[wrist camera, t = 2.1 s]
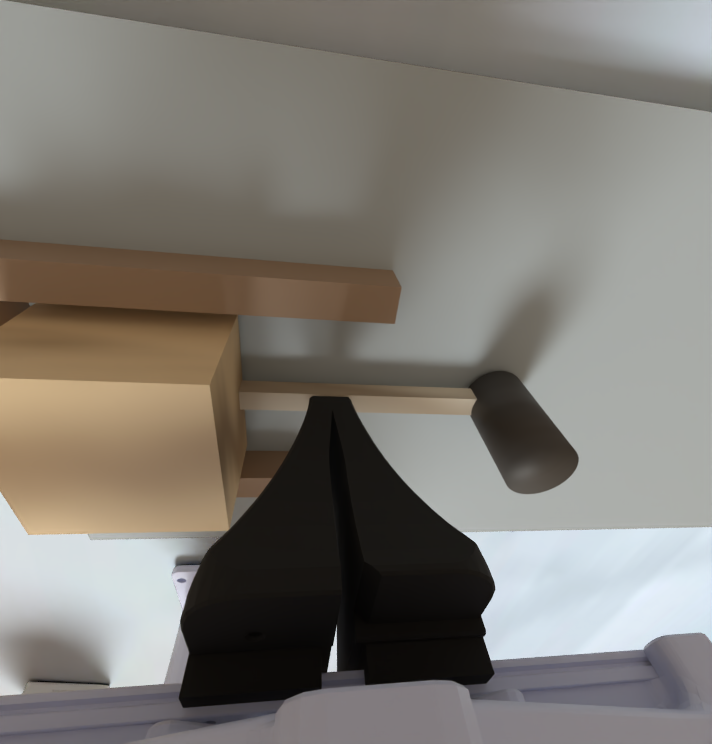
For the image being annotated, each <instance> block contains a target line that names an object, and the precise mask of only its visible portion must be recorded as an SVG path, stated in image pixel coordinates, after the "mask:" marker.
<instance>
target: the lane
mask: <svg viewBox="0 0 712 744" xmlns="http://www.w3.org/2000/svg"><path fill="white" fill-rule="evenodd" d="M35 303H44V304H61V305H78V306H96V307H113V308H130V309H147V310H164V311H181V312H198V313H215V314H232V315H238V324H239V338H240V351H241V365H242V379H243V380H246V381H274V382H302V383H331V384H359V385H387V386H416V387H444V388H469V386H470V385H471V384H472V383H473V382H474V381H475V380H476V379H478V378H479V377H481V376H483V375H485V374H487V373H490V372H494V371H507V372H510V373H513V374H514V375H516V376H517V377H518V378H519V379H520V381H521V382H522V383H523V385H524V386H525V387H526V388H527V390H528V391H529V392H530V393H531V395H532V396H533V397H534V399H535V400H536V401H537V402H538V404H539V405H540V406H541V407H542V409H543V410H544V411H545V413H546V414H547V415H548V416H549V418H550V419H551V420H552V421H553V423H554V424H555V425H556V427H557V428H558V429H559V430H560V432H561V433H562V434H563V435H564V437H565V438H566V439H567V440H568V442H569V443H570V444H571V446H572V447H573V448H574V449H575V451H576V452H577V454H578V457H579V462H578V466H577V468H576V470H575V471H574V473H573V474H572V475H571V476H570V477H569V478H568V479H567V480H566V481H565V482H563V483H562V484H560V485H559V486H557V487H555V488H553V489H550V490H548V491H545V492H541V493H537V494H520V493H516V492H514V491H512V490H510V489H509V488H508V487H507V485H506V483H505V481H504V479H503V478H502V476H501V474H500V472H499V470H498V468H497V466H496V464H495V462H494V460H493V459H492V457H491V455H490V453H489V451H488V449H487V447H486V445H485V443H484V441H483V439H482V438H481V436H480V434H479V432H478V430H477V428H476V426H475V424H474V422H473V420H472V418H471V417H470V415H443V414H402V413H362V412H357V414H358V416H359V418H360V420H361V422H362V424H363V425H364V427H365V429H366V430H367V432H368V434H369V435H370V437H371V438H372V440H373V442H374V443H375V445H376V446H377V448H378V449H379V450H380V452H381V453H382V455H383V456H384V457H385V459H386V460H387V461H388V463H389V464H390V465H391V467H392V468H393V469H394V470H395V471H396V473H397V474H398V475H399V476H400V477H401V478H402V480H403V481H404V482H405V483H406V484H407V485H408V486H409V487H410V488H411V489H412V490H413V491H414V492H415V493H416V494H417V495H418V496H419V497H420V498H421V499H422V500H423V501H424V502H425V503H426V504H427V505H428V506H429V507H430V508H431V509H433V510H434V511H435V512H436V513H437V514H438V515H440V516H441V517H442V518H443V519H444V520H446V521H447V522H448V523H449V524H451V525H452V526H453V527H455V528H456V529H457V530H459V531H460V532H494V531H542V530H590V529H638V528H686V527H712V112H708V111H702V110H696V109H689V108H683V107H677V106H670V105H664V104H658V103H651V102H645V101H639V100H632V99H626V98H620V97H613V96H607V95H601V94H594V93H588V92H582V91H575V90H569V89H563V88H556V87H550V86H544V85H537V84H531V83H525V82H519V81H512V80H506V79H500V78H493V77H487V76H481V75H474V74H468V73H462V72H455V71H449V70H443V69H436V68H430V67H424V66H417V65H411V64H405V63H398V62H392V61H386V60H379V59H373V58H367V57H361V56H354V55H348V54H342V53H335V52H329V51H323V50H316V49H310V48H304V47H297V46H291V45H285V44H278V43H272V42H266V41H259V40H253V39H247V38H240V37H234V36H228V35H221V34H215V33H209V32H202V31H196V30H190V29H184V28H177V27H171V26H165V25H158V24H152V23H146V22H139V21H133V20H127V19H120V18H114V17H108V16H101V15H95V14H89V13H82V12H76V11H70V10H63V9H57V8H51V7H44V6H38V5H32V4H25V3H19V2H13V1H7V0H0V326H2V325H3V324H5V323H6V322H8V321H9V320H11V319H12V318H14V317H15V316H17V315H18V314H20V313H21V312H23V311H24V310H26V309H27V308H29V307H30V306H32V305H33V304H35ZM306 412H307V411H282V410H245V420H246V434H247V448H246V453H245V457H244V462H243V467H242V472H241V477H240V481H239V486H238V491H237V496H236V501H235V505H234V510H233V515H232V520H231V525H230V528H231V527H232V526H233V525H234V524H235V523H236V522H237V521H238V520H239V518H240V517H241V516H242V515H243V514H244V513H245V512H246V511H247V509H248V508H249V507H250V506H251V505H252V504H253V503H254V501H255V500H256V499H257V498H258V496H259V495H260V494H261V493H262V491H263V490H264V489H265V487H266V486H267V485H268V483H269V482H270V480H271V479H272V478H273V476H274V475H275V473H276V472H277V470H278V469H279V467H280V466H281V464H282V462H283V461H284V459H285V457H286V456H287V454H288V452H289V450H290V448H291V447H292V445H293V443H294V441H295V439H296V437H297V435H298V433H299V430H300V428H301V426H302V423H303V421H304V418H305V415H306ZM226 532H227V531H201V532H148V533H94V534H88V536H89V538H90V540H109V539H157V538H205V537H222V536H223V535H224V534H225V533H226Z"/></svg>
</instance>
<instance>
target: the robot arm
mask: <svg viewBox="0 0 712 744" xmlns="http://www.w3.org/2000/svg"><path fill="white" fill-rule="evenodd" d="M172 579H173V582H174V585H175V588H176V591H177V594H178V598H179V601H180V604H181V607H182V610H183V612H182V616H181V620H180V626H179V629H178V633H177V637H176V641H175V644H174V648H173V652H172V656H171V659H170V663H169V667H168V671H167V674H166V678H165V682H164V684H159V685H146V686H132V687H118V688H104V689H90V690H76V691H62V692H48V693H34V694H20V695H6V696H0V744H712V643H711V641H710V640H709V639H708V637H707V636H706V635H705V634H702V633H689V634H674V635H666V636H661V637H658V638H656V639H654V640H652V641H651V642H649V643H648V644H647V645H646V646H645V647H644V650H632V651H618V652H604V653H591V654H577V655H563V656H549V657H535V658H521V659H507V660H493V661H490V658H489V654H488V651H487V648H486V645H485V642H484V639H483V636H485V634H486V630H485V627H484V624H483V621H482V618H481V614H482V613H483V611H484V610H485V608H486V607H487V605H488V603H489V602H490V600H491V598H492V596H493V594H494V591H495V584H494V580H493V578H492V575H491V573H490V570H489V568H488V566H487V564H486V562H485V560H484V558H483V556H482V554H481V552H480V550H479V548H478V546H477V544H476V543H475V542H474V541H472V540H471V539H470V538H468V537H467V536H466V535H464V534H463V533H461V532H460V531H459V530H457V529H456V528H455V527H453V526H452V525H451V524H449V523H448V522H447V521H446V520H444V519H443V518H442V517H441V516H440V515H438V514H437V513H436V512H435V511H434V510H433V509H431V508H430V507H429V506H428V505H427V504H426V503H425V502H424V501H423V500H422V499H421V498H420V497H419V496H418V495H417V494H416V493H415V492H414V491H413V490H412V489H411V488H410V487H409V486H408V485H407V484H406V483H405V482H404V481H403V480H402V478H401V477H400V476H399V475H398V474H397V473H396V471H395V470H394V469H393V468H392V467H391V465H390V464H389V463H388V461H387V460H386V459H385V457H384V456H383V455H382V453H381V452H380V450H379V449H378V448H377V446H376V445H375V443H374V442H373V440H372V438H371V437H370V435H369V434H368V432H367V430H366V429H365V427H364V425H363V424H362V422H361V420H360V418H359V416H358V414H357V412H356V410H355V408H354V406H353V404H352V401H351V399H350V398H349V397H336V396H312V397H310V398H309V405H308V409H307V412H306V415H305V418H304V421H303V423H302V426H301V428H300V430H299V433H298V435H297V437H296V439H295V441H294V443H293V445H292V447H291V448H290V450H289V452H288V454H287V456H286V457H285V459H284V461H283V462H282V464H281V466H280V467H279V469H278V470H277V472H276V473H275V475H274V476H273V478H272V479H271V480H270V482H269V483H268V485H267V486H266V487H265V489H264V490H263V491H262V493H261V494H260V495H259V496H258V498H257V499H256V500H255V501H254V503H253V504H252V505H251V506H250V507H249V508H248V509H247V511H246V512H245V513H244V514H243V515H242V516H241V517H240V518H239V520H238V521H237V522H236V523H235V524H234V525H233V526H232V527H231V528H230V529H229V530H228V531H227V532H226V533H225V534H224V535H223V536H222V537H221V538H220V539H219V540H218V541H217V542H216V543H215V544H214V545H213V546H212V547H211V548H210V549H209V550H208V551H207V553H206V555H205V557H204V559H203V560H202V562H201V564H200V565H181V566H177V567H175V568H174V569H173V572H172ZM336 625H337V672H327V669H328V663H329V658H330V652H331V646H333V642H334V637H335V631H336Z"/></svg>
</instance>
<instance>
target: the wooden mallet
mask: <svg viewBox="0 0 712 744" xmlns="http://www.w3.org/2000/svg"><path fill="white" fill-rule="evenodd" d="M312 396H336V397H349V398H350V399H351V401H352V404H353V406H354V408H355V410H356V412H362V413H402V414H443V415H470V417H471V418H472V420H473V422H474V424H475V426H476V428H477V430H478V432H479V434H480V436H481V438H482V439H483V441H484V443H485V445H486V447H487V449H488V451H489V453H490V455H491V457H492V459H493V460H494V462H495V464H496V466H497V468H498V470H499V472H500V474H501V476H502V478H503V479H504V481H505V483H506V485H507V487H508V488H509V489H510V490H512V491H514V492H516V493H520V494H537V493H541V492H545V491H548V490H550V489H553V488H555V487H557V486H559V485H560V484H562V483H563V482H565V481H566V480H567V479H568V478H569V477H570V476H571V475H572V474H573V473H574V471H575V470H576V468H577V466H578V462H579V457H578V454H577V452H576V451H575V449H574V448H573V447H572V446H571V444H570V443H569V442H568V440H567V439H566V438H565V437H564V435H563V434H562V433H561V432H560V430H559V429H558V428H557V427H556V425H555V424H554V423H553V421H552V420H551V419H550V418H549V416H548V415H547V414H546V413H545V411H544V410H543V409H542V407H541V406H540V405H539V404H538V402H537V401H536V400H535V399H534V397H533V396H532V395H531V393H530V392H529V391H528V390H527V388H526V387H525V386H524V385H523V383H522V382H521V381H520V379H519V378H518V377H517V376H516V375H514V374H513V373H510V372H507V371H494V372H490V373H487V374H485V375H483V376H481V377H479V378H478V379H476V380H475V381H474V382H473V383H472V384H471V385H470V386H469V388H444V387H416V386H387V385H359V384H331V383H302V382H274V381H246V380H243V379H242V365H241V351H240V338H239V324H238V315H232V314H215V313H198V312H181V311H164V310H147V309H130V308H113V307H96V306H78V305H61V304H44V303H35V304H33V305H32V306H30V307H29V308H27V309H26V310H24V311H23V312H21V313H20V314H18V315H17V316H15V317H14V318H12V319H11V320H9V321H8V322H6V323H5V324H3V325H2V326H0V492H1V493H2V495H3V496H4V498H5V499H6V501H7V502H8V504H9V506H10V507H11V509H12V510H13V512H14V513H15V515H16V516H17V518H18V519H19V521H20V522H21V524H22V526H23V527H24V529H25V530H26V532H27V533H28V535H40V534H94V533H148V532H201V531H228V530H229V529H230V525H231V520H232V515H233V510H234V505H235V501H236V496H237V491H238V486H239V481H240V477H241V472H242V467H243V462H244V457H245V453H246V448H247V434H246V420H245V410H282V411H307V409H308V405H309V398H310V397H312Z"/></svg>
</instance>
